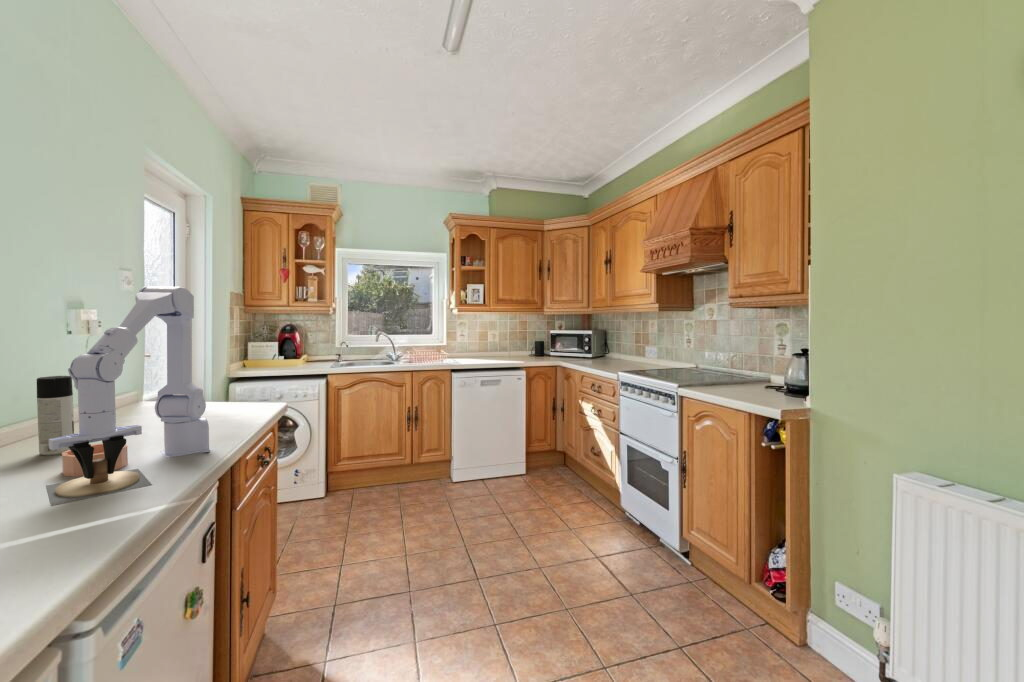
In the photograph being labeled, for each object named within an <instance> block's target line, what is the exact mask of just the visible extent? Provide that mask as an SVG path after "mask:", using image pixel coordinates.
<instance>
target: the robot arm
mask: <svg viewBox="0 0 1024 682" xmlns="http://www.w3.org/2000/svg"><path fill="white" fill-rule="evenodd" d="M194 297H195V296H194V295H193V294H192V293H191V291H190V290H189V289H188V288H187V287H185V286H151V285H145V286H143V287H141V288H140V289H139V291H138V292H137V293H135V297H134V299H135V300H134V301H135V304H134V305H133V307H132V308H131V310H130V311H129V312H128V314H127V315H126V316H125V318H124V319H123V320H122V322H121V323H120V325H119V326H114V327H110V328H107V329H106V330H105V331H104V332H103V335H102V336H101V337H100V339H98V341H97V342H96V343H95V344H94V345H93V346H92V347H91V348H90V349H89V350H88V351H87V353H83V354H79V355H77V357H75V358H74V359H72V361H71V363H70V367H69V368H67V372H68V376H70V377H71V378H72V381H73V384H74V386H73V387H74V388H75V389H76V390H77V406H78V407H77V409H78V432H75V433H74V434H71V435H67V436H62V437H58V438H52V439H49V449H51V450H56V449H60V448H63V447H69V449H70V450H71V451H72V453H73V454H74V455H75V457H76V458H77V460H78V462H79V463H80V465H81V468H82V470H83V474H84V476H83V477H85V478H87V479H91V478H93V464H92V462H93V452H94V447H91V445H92V444H91V443H96V442H102V443H101V444H103V448H104V455H105V459H108V474H112V473H114V472H115V470H114V468H115V465H116V461H117V459H118V456H119V454H120V452H121V450H122V449H123V447H124V446H125V444H126V445H127V439H126V438H125V437H130V436H139V435H142V434H143V432H142V430H143V429H142V427H143V425H140V424H132V425H126V426H117V421H116V420H117V418H116V417H117V416H116V415H117V414H116V413H117V411H116V409H117V408H116V380H117V379H118V378H119V377H120V376H121V375H122V373H123V369H124V364H125V363H126V357H127V356H128V355H129V354H130V353H131V351H132V350H133V349H134V347H135V346H136V345H138V341H139V340H138V338H137V337H138V336H137V335H138V334H139V332H141V331H142V330H143V329H144V328H145V327H146V326H147V325H148V324H149V323H150V322H151V321H152V320H153V319H154V318H155V317H156V318H158V319H161V321H163V322H164V323H165V324H166V385H164V386H163V387H162V388H160V389H159V390H158V391H157V398H156V402H155V404H154V412H155V415H156V416H157V417H158V418H159V419H160V422H161V423H162V422H163V434H164V435H163V436H164V437H163V439H164V440H163V441H164V449H163V450H161V451H160V453H161V455H162V456H164V457H165V458H167V459H168V458H174V457H181V456H185V455H190V454H197V453H209V452H210V451H211V450H210V427H209V422H208V419H207V418H206V417H202V416H203V415H204V413H205V412H206V408H207V407H206V406H207V403H206V399H205V397H204V389H202V388H201V387H199V386H198V385H196V384H195V383H194V382H193V338H192V337H193V333H192V332H193V329H192V328H193V319H194V318H195V313H194V312H195V310H194V309H195V302H194V301H195V299H194Z"/></svg>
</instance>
